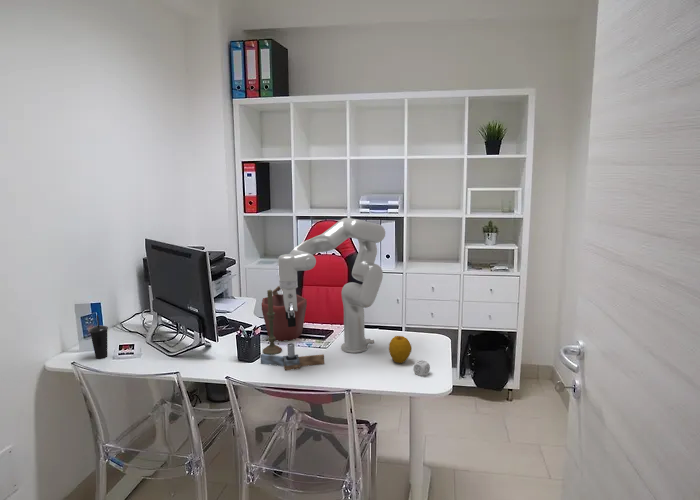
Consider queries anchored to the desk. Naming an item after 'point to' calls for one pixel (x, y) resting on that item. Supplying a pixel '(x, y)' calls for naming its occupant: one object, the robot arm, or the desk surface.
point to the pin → (291, 351)
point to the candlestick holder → (271, 329)
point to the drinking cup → (99, 340)
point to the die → (421, 368)
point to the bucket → (284, 317)
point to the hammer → (292, 361)
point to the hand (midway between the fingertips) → (290, 322)
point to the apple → (399, 349)
